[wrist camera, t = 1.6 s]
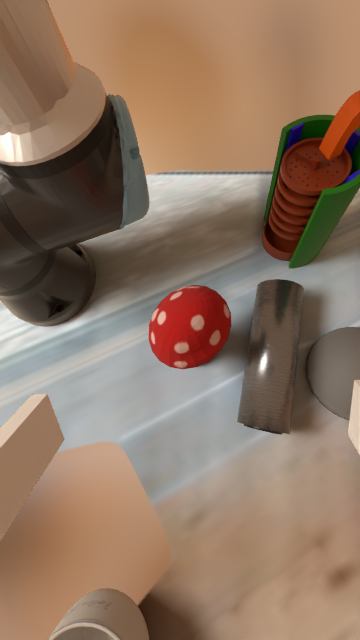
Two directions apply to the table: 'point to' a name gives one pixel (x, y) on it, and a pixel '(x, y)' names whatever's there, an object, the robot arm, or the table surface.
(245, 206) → the table surface
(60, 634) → the teacup
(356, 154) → the motor
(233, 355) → the table surface
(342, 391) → the rubber mat
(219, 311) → the decorative mushroom
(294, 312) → the metal pipe
